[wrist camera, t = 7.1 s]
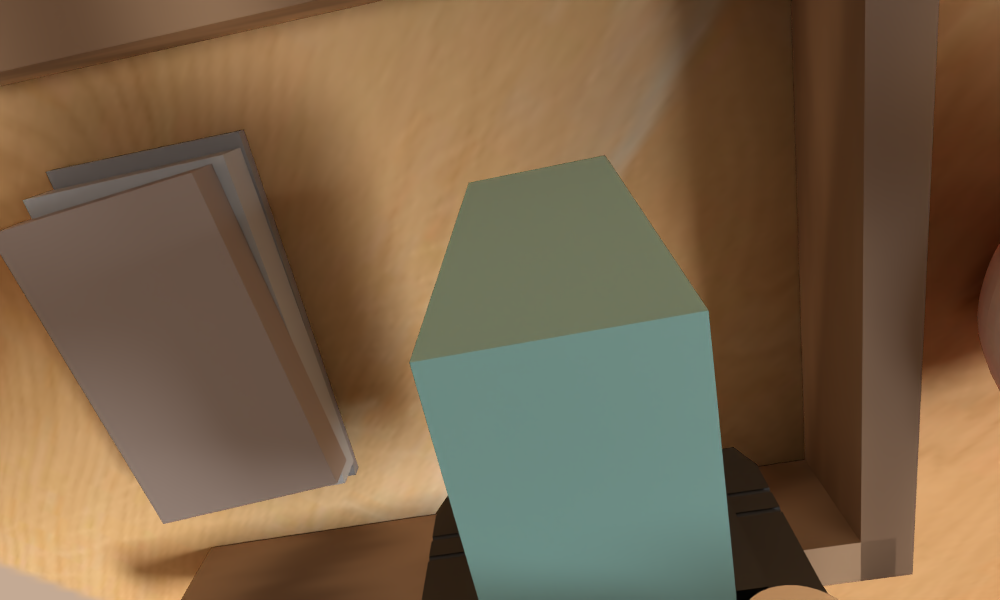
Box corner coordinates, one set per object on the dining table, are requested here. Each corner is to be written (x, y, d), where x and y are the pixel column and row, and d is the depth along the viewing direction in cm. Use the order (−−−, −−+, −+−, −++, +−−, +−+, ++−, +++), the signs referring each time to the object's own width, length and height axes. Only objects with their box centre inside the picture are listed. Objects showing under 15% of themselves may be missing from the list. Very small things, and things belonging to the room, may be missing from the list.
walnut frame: (849, -175, 16) (950, -236, 12) (849, 487, 23) (912, 574, 20) (-30, 31, 18) (-169, 32, 14) (224, 577, 26) (176, 670, 22)
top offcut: (212, 163, 18) (191, 172, 17) (346, 460, 21) (337, 483, 20) (20, 222, 19) (-12, 235, 18) (181, 499, 22) (163, 523, 21)
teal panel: (605, 155, 12) (709, 309, 5) (666, 576, 15) (772, 971, 9) (468, 182, 12) (410, 362, 6) (561, 590, 16) (591, 984, 9)
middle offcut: (240, 147, 19) (222, 155, 18) (353, 461, 23) (345, 483, 22) (50, 190, 20) (22, 200, 18) (193, 488, 24) (177, 511, 22)
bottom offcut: (254, 125, 20) (238, 131, 19) (363, 454, 24) (355, 474, 23) (71, 164, 20) (46, 171, 19) (210, 477, 25) (195, 499, 24)
